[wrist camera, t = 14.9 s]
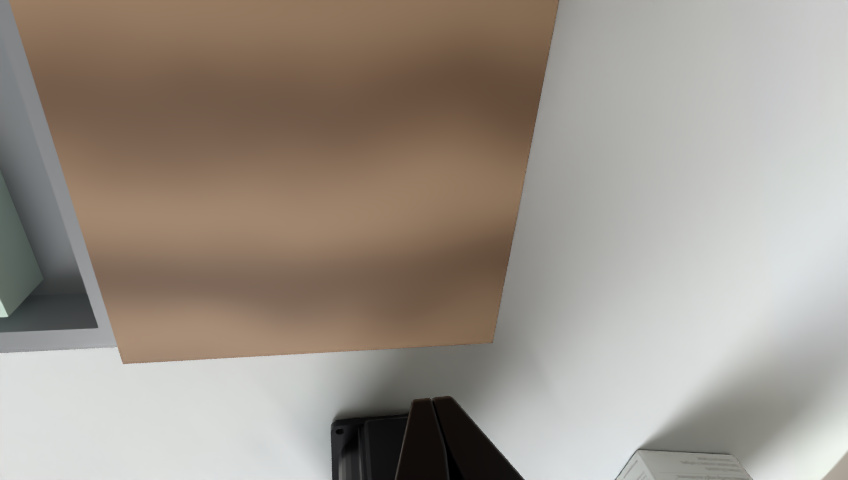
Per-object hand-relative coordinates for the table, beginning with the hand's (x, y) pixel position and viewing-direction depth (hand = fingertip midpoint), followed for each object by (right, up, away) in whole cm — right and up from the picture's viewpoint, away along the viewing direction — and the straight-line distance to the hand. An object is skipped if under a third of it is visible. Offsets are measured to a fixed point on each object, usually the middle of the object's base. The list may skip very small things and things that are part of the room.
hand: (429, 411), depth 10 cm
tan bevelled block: (-4, +10, +8) cm, 13 cm away
